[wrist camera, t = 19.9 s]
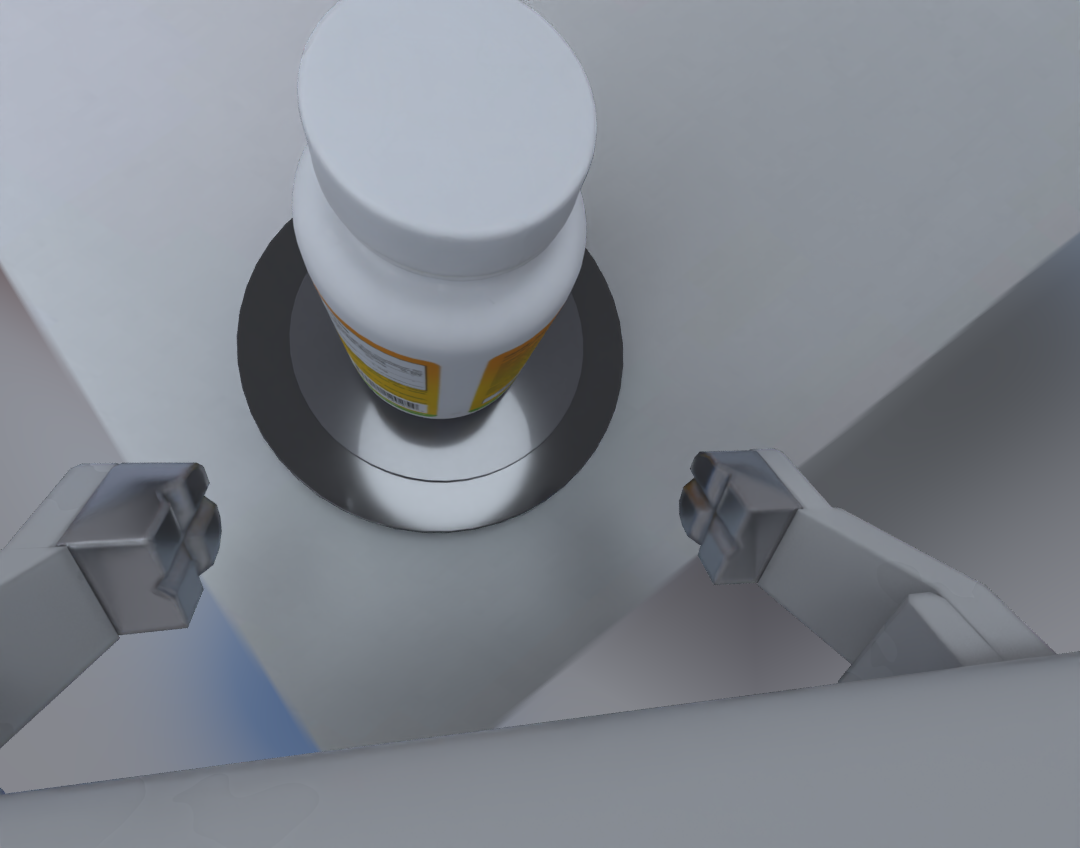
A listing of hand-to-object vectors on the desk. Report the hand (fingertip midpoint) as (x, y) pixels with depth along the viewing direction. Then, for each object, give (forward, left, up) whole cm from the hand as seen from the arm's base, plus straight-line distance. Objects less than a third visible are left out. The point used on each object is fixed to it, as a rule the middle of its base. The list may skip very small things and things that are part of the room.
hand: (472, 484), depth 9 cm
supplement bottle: (+4, -2, -7) cm, 9 cm away
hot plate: (+4, -2, -9) cm, 10 cm away
